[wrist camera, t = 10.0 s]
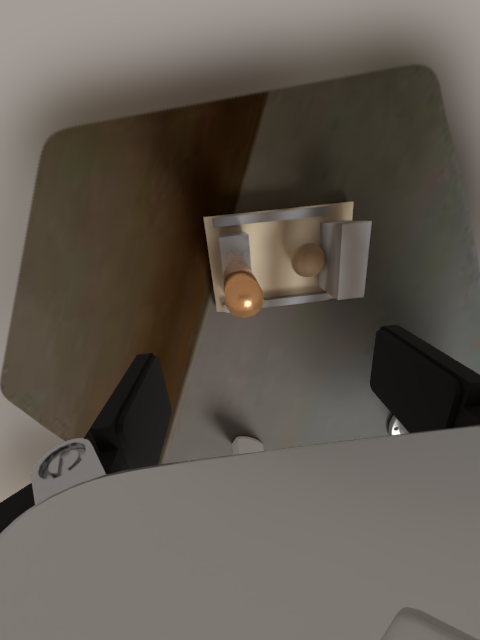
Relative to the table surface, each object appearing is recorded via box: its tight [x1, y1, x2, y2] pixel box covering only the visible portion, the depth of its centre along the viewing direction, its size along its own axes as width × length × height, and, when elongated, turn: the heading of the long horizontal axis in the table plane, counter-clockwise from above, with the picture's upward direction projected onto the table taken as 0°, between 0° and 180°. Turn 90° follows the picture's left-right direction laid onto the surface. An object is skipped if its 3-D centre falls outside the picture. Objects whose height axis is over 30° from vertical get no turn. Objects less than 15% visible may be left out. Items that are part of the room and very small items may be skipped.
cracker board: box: [204, 201, 372, 312], centre depth 30 cm, size 18×12×8 cm, turn 96°
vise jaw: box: [218, 231, 264, 318], centre depth 25 cm, size 3×8×14 cm, turn 6°
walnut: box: [291, 243, 326, 277], centre depth 30 cm, size 4×4×4 cm
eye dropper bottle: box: [232, 436, 264, 455], centre depth 40 cm, size 4×6×12 cm
